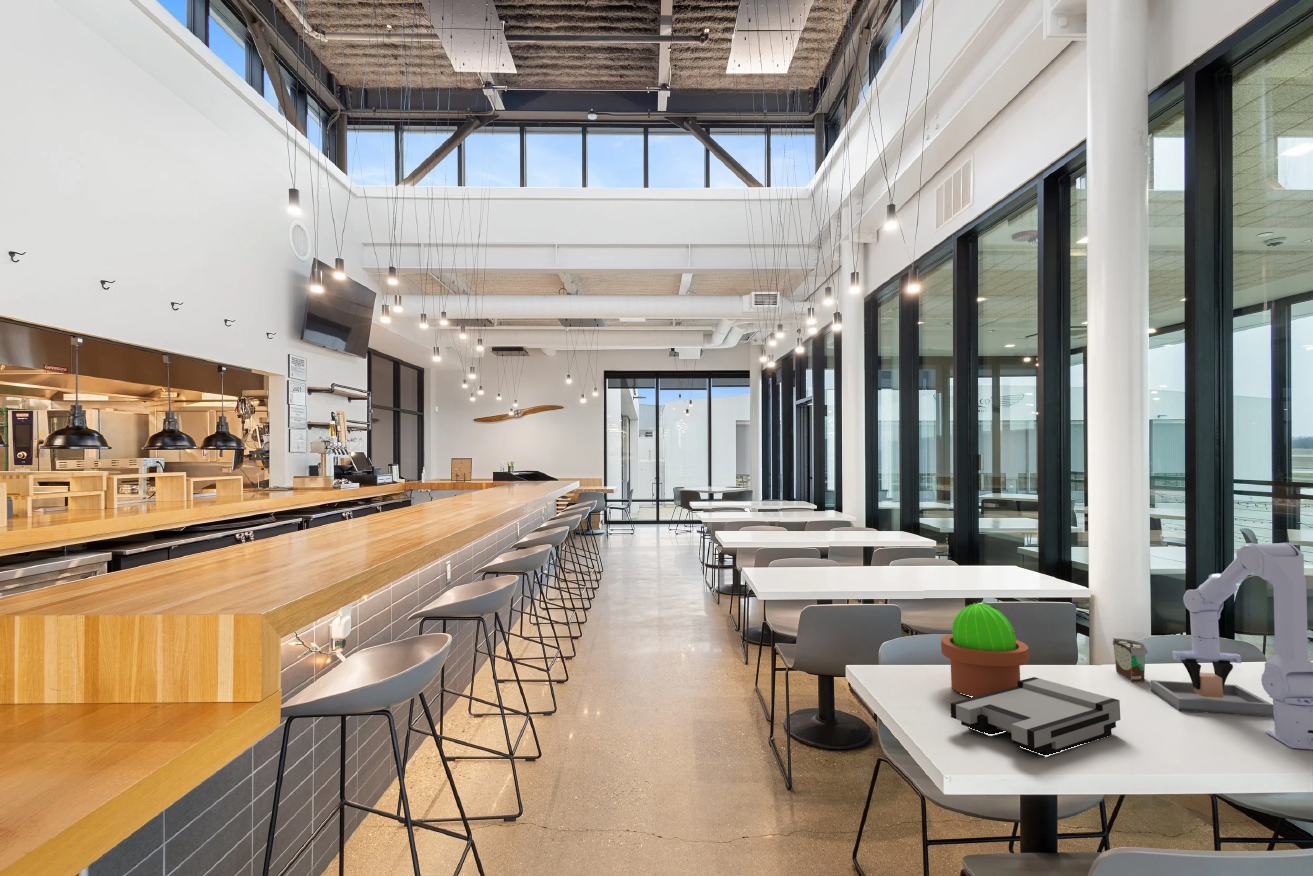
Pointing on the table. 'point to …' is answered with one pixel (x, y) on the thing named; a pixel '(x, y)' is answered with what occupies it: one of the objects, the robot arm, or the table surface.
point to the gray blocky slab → (1041, 715)
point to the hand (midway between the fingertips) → (1208, 689)
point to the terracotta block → (1210, 685)
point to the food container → (1130, 659)
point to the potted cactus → (983, 651)
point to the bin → (1211, 699)
